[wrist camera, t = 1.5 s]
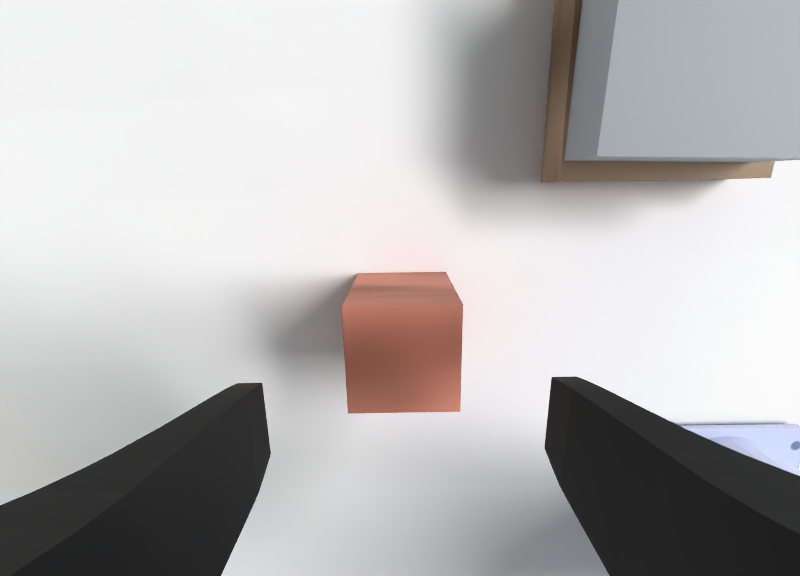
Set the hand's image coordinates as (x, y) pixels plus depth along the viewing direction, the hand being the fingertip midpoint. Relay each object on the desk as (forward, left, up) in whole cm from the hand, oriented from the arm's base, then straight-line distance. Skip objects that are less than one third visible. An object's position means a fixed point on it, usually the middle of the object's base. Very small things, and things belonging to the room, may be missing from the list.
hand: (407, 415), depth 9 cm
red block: (0, 0, -9) cm, 9 cm away
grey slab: (+10, -10, -7) cm, 15 cm away
